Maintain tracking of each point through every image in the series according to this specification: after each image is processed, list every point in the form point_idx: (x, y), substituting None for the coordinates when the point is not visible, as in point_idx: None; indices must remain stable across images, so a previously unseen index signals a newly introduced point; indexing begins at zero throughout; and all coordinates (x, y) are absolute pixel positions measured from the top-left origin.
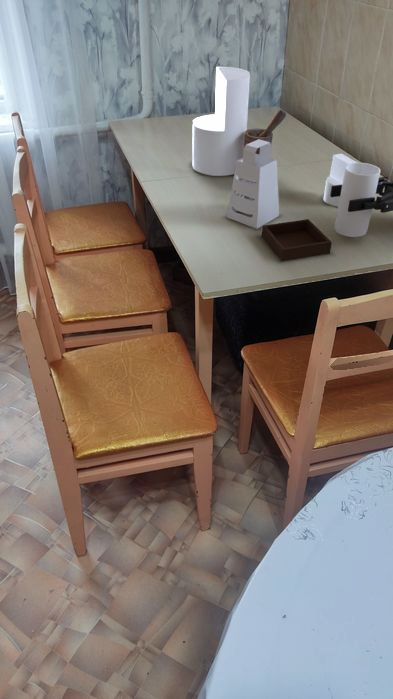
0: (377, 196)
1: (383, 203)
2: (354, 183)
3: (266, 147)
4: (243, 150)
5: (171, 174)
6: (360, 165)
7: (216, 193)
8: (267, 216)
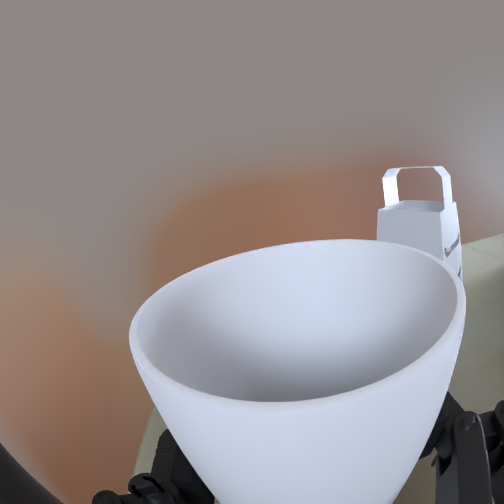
0: (158, 483)
1: (106, 491)
2: (221, 320)
3: (446, 184)
4: (395, 177)
5: (496, 251)
6: (444, 296)
7: (477, 284)
8: None
